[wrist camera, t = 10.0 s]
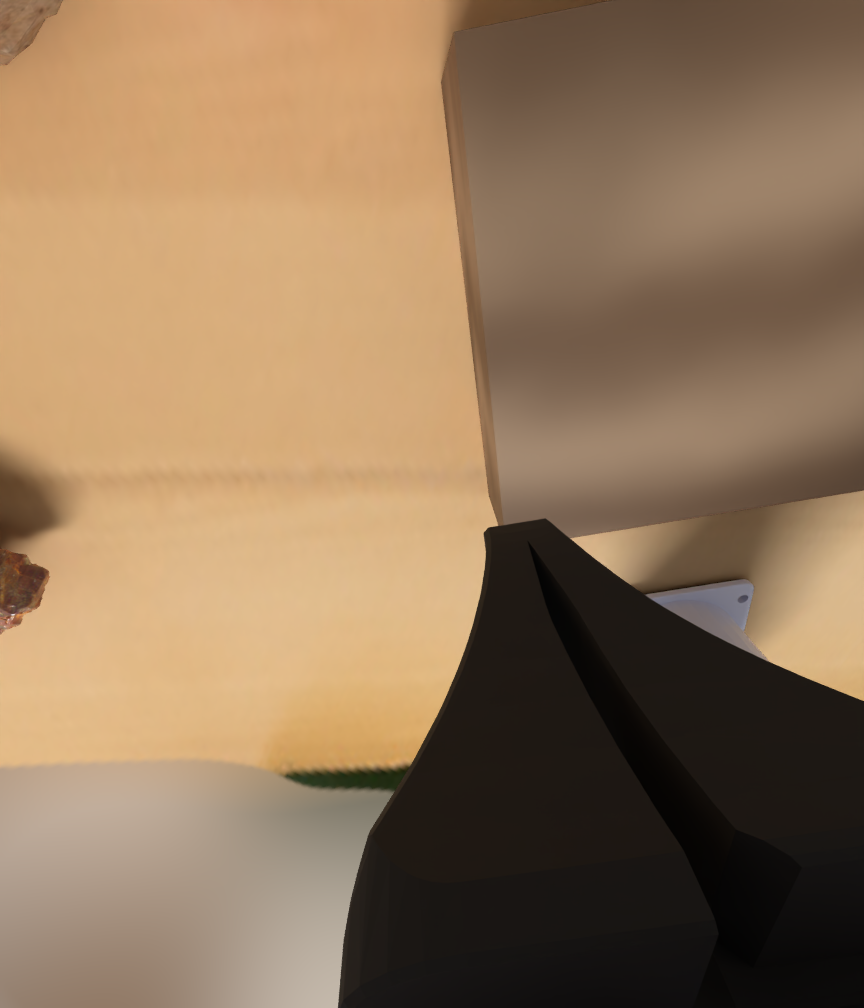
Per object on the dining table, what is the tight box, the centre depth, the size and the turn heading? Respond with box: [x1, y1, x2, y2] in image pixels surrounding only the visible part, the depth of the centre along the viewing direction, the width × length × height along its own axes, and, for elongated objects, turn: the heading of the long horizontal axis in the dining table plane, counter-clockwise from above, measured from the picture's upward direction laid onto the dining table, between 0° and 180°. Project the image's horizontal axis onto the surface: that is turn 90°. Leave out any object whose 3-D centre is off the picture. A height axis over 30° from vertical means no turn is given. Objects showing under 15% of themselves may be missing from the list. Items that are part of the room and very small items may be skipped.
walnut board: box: [441, 0, 864, 538], centre depth 15 cm, size 14×16×4 cm
